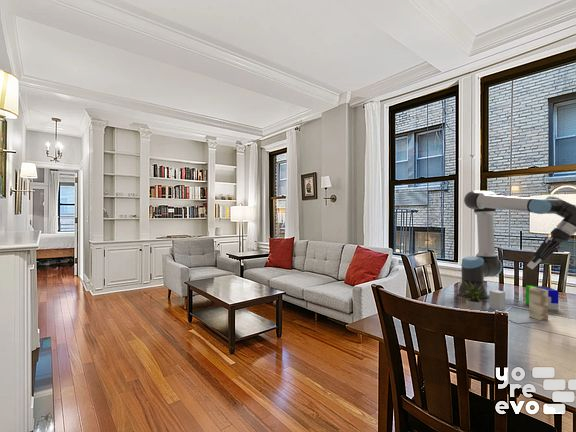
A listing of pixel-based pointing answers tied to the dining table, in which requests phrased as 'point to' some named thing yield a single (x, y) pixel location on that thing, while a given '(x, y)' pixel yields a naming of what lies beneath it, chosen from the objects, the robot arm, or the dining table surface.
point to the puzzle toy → (551, 296)
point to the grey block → (497, 300)
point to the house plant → (473, 297)
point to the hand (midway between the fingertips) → (529, 267)
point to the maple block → (538, 303)
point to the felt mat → (521, 319)
